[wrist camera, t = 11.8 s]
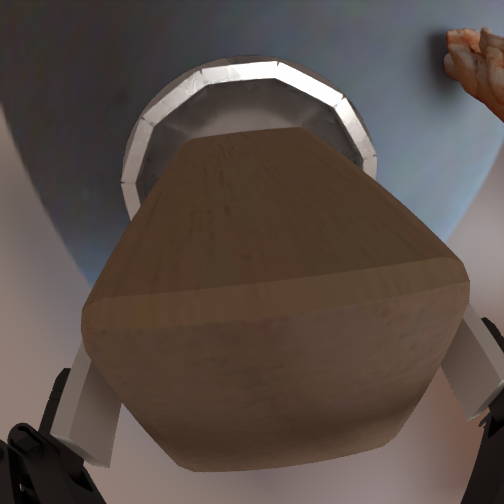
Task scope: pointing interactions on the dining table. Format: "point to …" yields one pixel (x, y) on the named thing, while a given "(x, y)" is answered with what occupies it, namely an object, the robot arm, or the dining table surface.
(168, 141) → the metallic bowl
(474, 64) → the figurine
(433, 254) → the block
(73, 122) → the dining table surface
